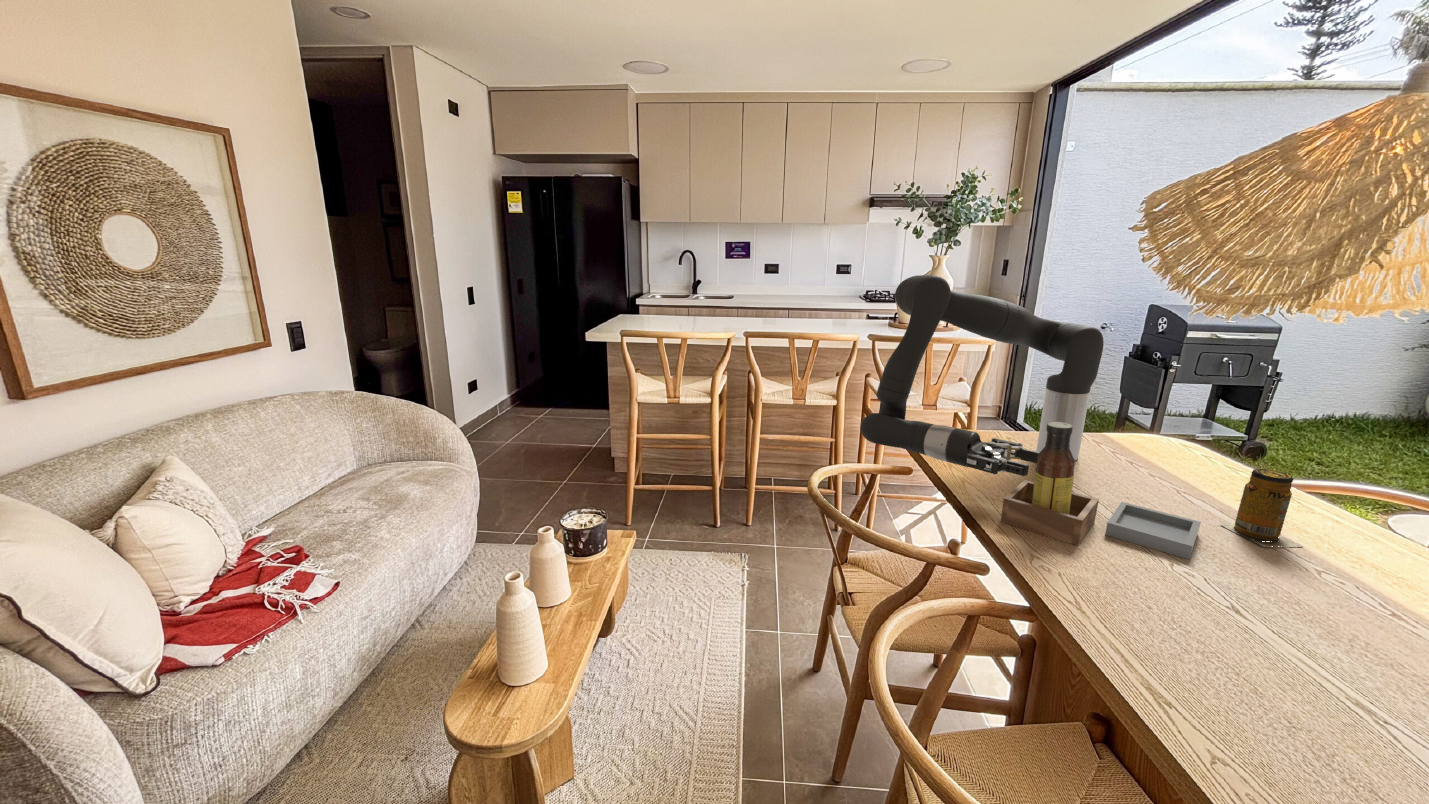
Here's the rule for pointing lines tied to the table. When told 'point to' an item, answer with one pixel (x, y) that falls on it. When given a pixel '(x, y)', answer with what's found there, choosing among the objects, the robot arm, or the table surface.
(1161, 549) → the tray
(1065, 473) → the sauce bottle
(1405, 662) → the table surface
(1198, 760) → the table surface
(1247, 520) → the condiment
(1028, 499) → the holder
